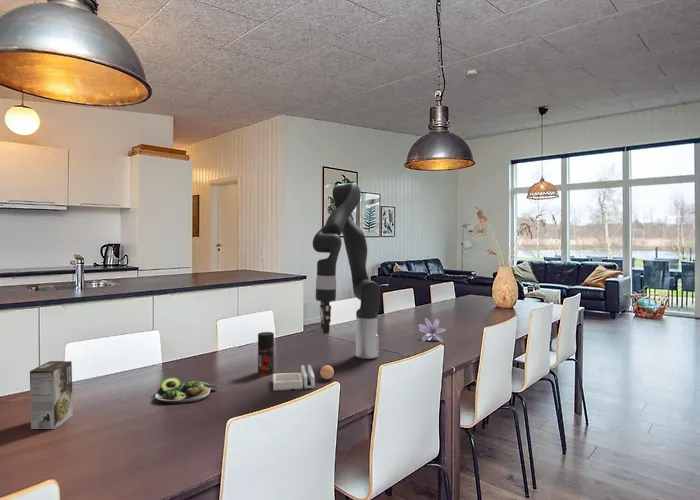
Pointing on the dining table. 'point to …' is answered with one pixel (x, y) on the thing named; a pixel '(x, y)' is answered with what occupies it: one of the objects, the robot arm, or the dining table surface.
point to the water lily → (431, 330)
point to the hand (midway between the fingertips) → (324, 331)
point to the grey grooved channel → (309, 374)
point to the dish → (287, 381)
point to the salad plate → (182, 391)
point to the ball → (327, 372)
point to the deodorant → (265, 353)
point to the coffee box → (51, 394)
